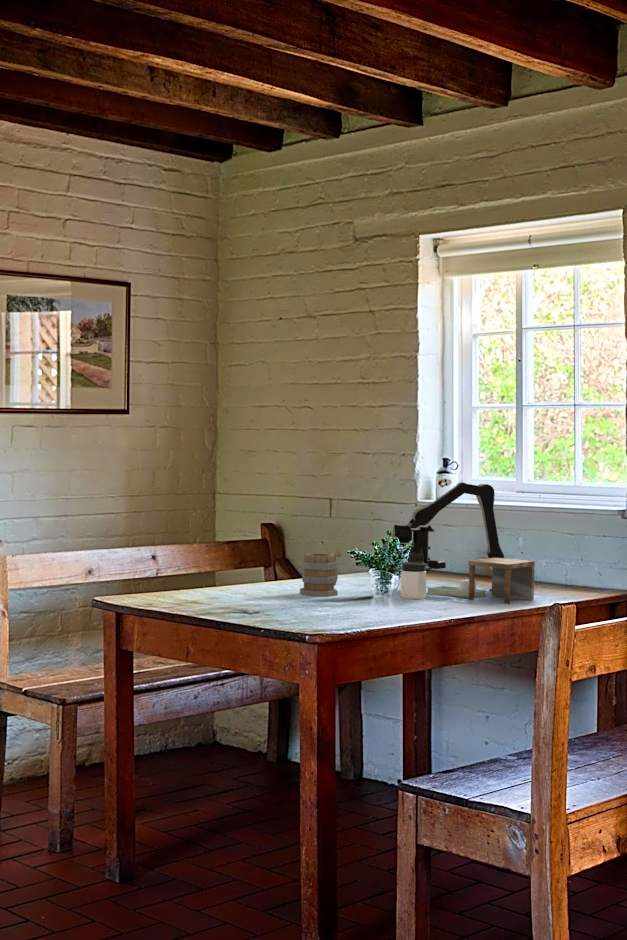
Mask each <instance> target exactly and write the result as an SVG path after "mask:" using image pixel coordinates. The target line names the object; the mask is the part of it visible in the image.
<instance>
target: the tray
mask: <svg viewBox="0 0 627 940" xmlns="http://www.w3.org/2000/svg"><path fill="white" fill-rule="evenodd" d="M458 584H459V587H458V586H450V585H439V586H438V585H437V586H430V587H427V594H428V595H429V594H431V595H440V596H447V597H448V596H449V597H457V598H465V599H469V578H466V579H461V580H459V583H458ZM486 591H487V590H485V589H477V580H476V579H475V595H474V599H475V598H481V597H485V596H486V594H487V592H486Z"/></svg>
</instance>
